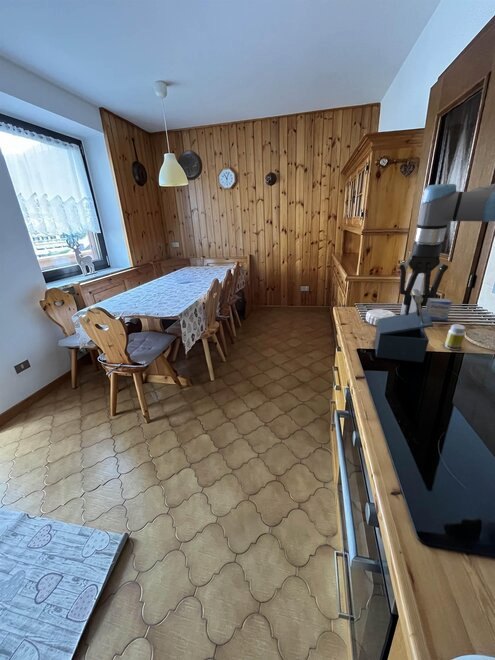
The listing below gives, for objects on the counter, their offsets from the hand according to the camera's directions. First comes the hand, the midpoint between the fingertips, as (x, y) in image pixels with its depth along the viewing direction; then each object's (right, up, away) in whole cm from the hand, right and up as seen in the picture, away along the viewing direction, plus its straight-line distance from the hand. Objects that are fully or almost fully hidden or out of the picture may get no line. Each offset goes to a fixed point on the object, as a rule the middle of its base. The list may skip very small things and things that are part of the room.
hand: (412, 313), depth 95 cm
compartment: (-1, -13, +8) cm, 15 cm away
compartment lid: (-2, -3, +2) cm, 4 cm away
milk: (+18, +1, +33) cm, 38 cm away
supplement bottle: (+19, -12, +8) cm, 24 cm away
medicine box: (+27, 0, +29) cm, 39 cm away
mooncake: (+3, -2, +30) cm, 30 cm away
